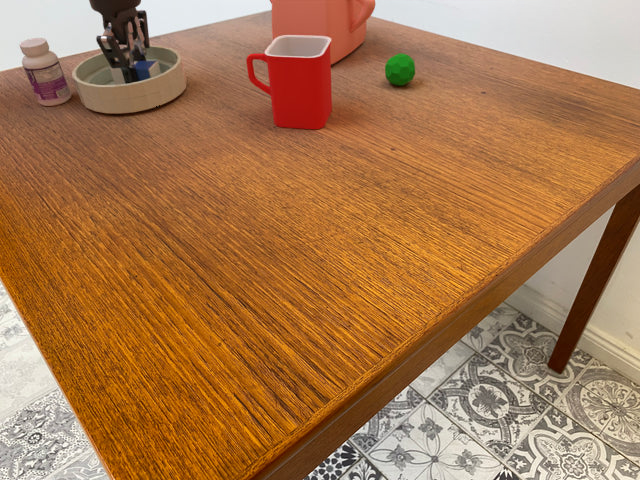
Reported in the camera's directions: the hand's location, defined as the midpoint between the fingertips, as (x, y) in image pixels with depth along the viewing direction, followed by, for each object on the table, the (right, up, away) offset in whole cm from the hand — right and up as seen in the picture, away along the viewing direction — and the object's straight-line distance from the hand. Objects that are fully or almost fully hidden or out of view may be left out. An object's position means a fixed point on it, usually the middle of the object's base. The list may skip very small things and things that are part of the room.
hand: (139, 83), depth 88 cm
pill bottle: (-14, -3, -1) cm, 14 cm away
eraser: (0, 0, 0) cm, 0 cm away
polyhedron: (+44, -1, -3) cm, 44 cm away
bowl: (0, -2, -1) cm, 2 cm away
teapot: (+32, +11, +12) cm, 36 cm away
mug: (+27, -8, -9) cm, 29 cm away
